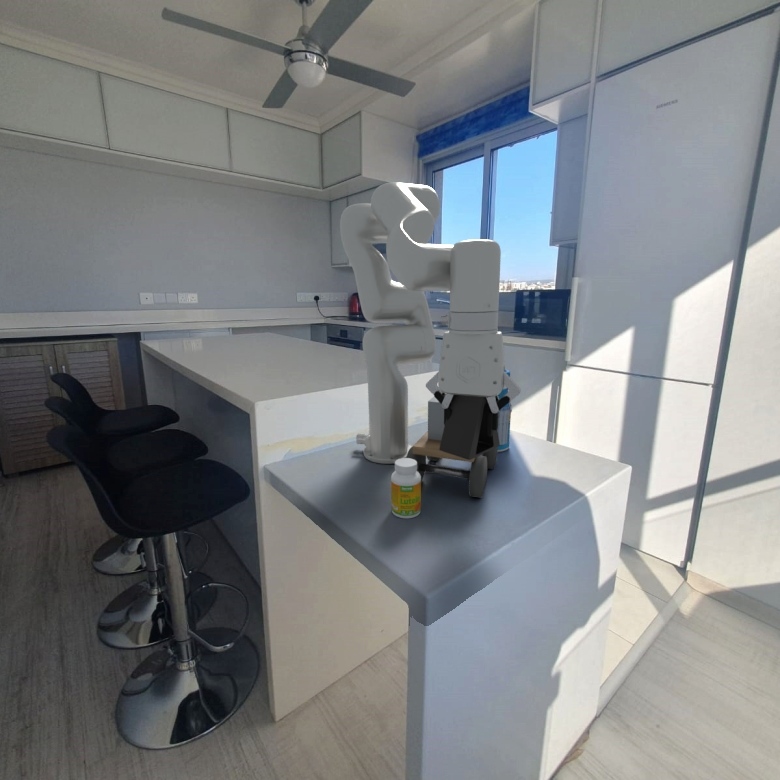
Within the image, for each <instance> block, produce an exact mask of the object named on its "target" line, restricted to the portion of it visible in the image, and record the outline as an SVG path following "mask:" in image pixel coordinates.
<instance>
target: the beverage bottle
mask: <svg viewBox="0 0 780 780" xmlns="http://www.w3.org/2000/svg"><path fill="white" fill-rule="evenodd" d="M505 372H506V373H507V374H508V376H509V377H510V378H511V371H510V370H508V369H506V368H505ZM508 392H509V389H508V388H507V387H506V386H505V385H504V387H503V389H502V391H501V393H500V394H499V395H498V398H499V399H500V398H502V397H503V396H504V395H506V394H507V393H508ZM511 402H512V400H511V401H510V402H509V403H508V404H507V405H505V406H504V407H503V408H502V409H500V410H499V414H498V429H497V431H498V437H499V442H500V445H499V446H498V452H497V453H501V452H506V451H507V450H509V448H510V433H511V432H510V431H511V420H512V419H511V415H512V412H513V411H512V410H513V406H512V404H511Z"/></svg>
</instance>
